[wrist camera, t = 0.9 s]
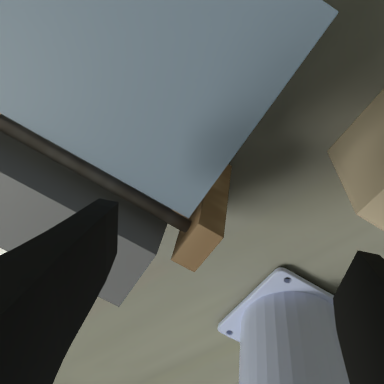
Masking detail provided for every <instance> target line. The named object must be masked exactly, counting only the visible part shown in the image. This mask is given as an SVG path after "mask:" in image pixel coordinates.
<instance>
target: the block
mask: <svg viewBox="0 0 384 384" xmlns="http://www.w3.org/2000/svg"><path fill="white" fill-rule="evenodd" d="M327 152H328V154H329V157H330V159H331V161H332V163H333V165H334V167H335V170H336V172H337V174H338V176H339V178H340V180H341V182H342V185H343V187H344V189H345V191H346V193H347V195H348V198H349V200H350V202H351V204H352V206H353V208H354V211H355V213H356V214H357V215H358V216H360V217H362V218H363V219H365V220H367V221H368V222H370V223H371V224H373V225H375V226H376V227H378V228H380V229H381V230H383V231H384V89H383V90H382V91H381V92H380V93H379V94H378V95H377V97H376V98H375V99H374V100H373V101H372V102H371V103H370V104H369V105H368V107H367V108H366V109H365V110H364V111H363V112H362V113H361V114H360V115H359V117H358V118H357V119H356V120H355V121H354V122H353V123H352V124H351V125H350V126H349V128H348V129H347V130H346V131H345V132H344V133H343V134H342V135H341V136H340V138H339V139H338V140H337V141H336V142H335V143H334V144H333V145H332V146H331V148H330V149H329V150H328V151H327Z"/></svg>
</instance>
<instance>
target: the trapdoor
mask: <svg viewBox="0 0 384 384" xmlns="http://www.w3.org/2000/svg"><path fill="white" fill-rule="evenodd" d="M337 14H338V11H337V10H336V9H334V8H333V7H331V6H330V5H329V4H327V3H326V2H324V1H323V0H0V113H1V115H2V116H4V117H6V118H8V119H10V120H11V121H13V122H15V123H17V124H19V125H20V126H22V127H24V128H26V129H27V130H29V131H31V132H33V133H35V134H36V135H38V136H40V137H42V138H44V139H45V140H47V141H49V142H51V143H53V144H54V145H56V146H58V147H60V148H62V149H63V150H65V151H67V152H69V153H70V154H72V155H74V156H76V157H78V158H79V159H81V160H83V161H85V162H87V163H88V164H90V165H92V166H94V167H96V168H97V169H99V170H101V171H103V172H105V173H106V174H108V175H110V176H112V177H113V178H115V179H117V180H119V181H121V182H122V183H124V184H126V185H128V186H130V187H131V188H133V189H135V190H137V191H139V192H140V193H142V194H144V195H146V196H147V197H149V198H151V199H153V200H155V201H156V202H158V203H160V204H162V205H164V206H165V207H167V208H169V209H171V210H172V209H173V210H174V211H176V212H178V213H180V214H182V215H183V216H185V217H187V218H189V217H190V216H191V214H192V213H193V212H194V210H195V209H196V208H197V206H198V205H199V203H200V202H201V201H202V199H203V198H204V197H205V195H206V194H207V192H208V191H209V190H210V188H211V187H212V186H213V184H214V183H215V181H216V180H217V179H218V177H219V176H220V175H221V173H222V172H223V170H224V169H225V168H226V166H227V165H228V164H229V162H230V161H231V160H232V158H233V157H234V155H235V154H236V153H237V151H238V150H239V149H240V147H241V146H242V144H243V143H244V142H245V140H246V139H247V138H248V136H249V135H250V133H251V132H252V131H253V129H254V128H255V127H256V125H257V124H258V122H259V121H260V120H261V118H262V117H263V116H264V114H265V113H266V111H267V110H268V109H269V107H270V106H271V105H272V103H273V102H274V100H275V99H276V98H277V96H278V95H279V94H280V92H281V91H282V89H283V88H284V87H285V85H286V84H287V83H288V81H289V80H290V78H291V77H292V76H293V74H294V73H295V72H296V70H297V69H298V67H299V66H300V65H301V63H302V62H303V61H304V59H305V58H306V56H307V55H308V54H309V52H310V51H311V50H312V48H313V47H314V45H315V44H316V43H317V41H318V40H319V39H320V37H321V36H322V34H323V33H324V32H325V30H326V29H327V28H328V26H329V25H330V23H331V22H332V21H333V19H334V18H335V17H336V15H337ZM99 198H101V199H105V200H110V201H115V202H119V207H118V245H117V255H116V257H115V260H114V263H113V265H112V268H111V270H110V273H109V275H108V277H107V280H106V282H105V284H104V286H103V288H102V289H101V291H100V293H99V295H98V297H100V298H102V299H104V300H106V301H108V302H110V303H112V304H114V305H116V306H118V307H119V306H120V305H121V304H122V302H123V301H124V299H125V298H126V297H127V295H128V294H129V292H130V291H131V290H132V288H133V287H134V285H135V284H136V283H137V281H138V280H139V278H140V277H141V276H142V274H143V273H144V271H145V270H146V269H147V267H148V266H149V264H150V263H151V261H152V260H153V259H154V257H155V256H156V254H157V251H158V248H159V246H160V243H161V240H162V237H163V235H164V232H165V229H166V226H167V223H166V222H164V221H163V220H161V219H159V218H157V217H155V216H153V215H152V214H150V213H148V212H146V211H144V210H143V209H141V208H139V207H137V206H135V205H134V204H132V203H130V202H128V201H126V200H124V199H123V198H121V197H119V196H117V195H115V194H114V193H112V192H110V191H108V190H106V189H104V188H103V187H101V186H99V185H97V184H95V183H94V182H92V181H90V180H88V179H86V178H84V177H83V176H81V175H79V174H77V173H75V172H74V171H72V170H70V169H68V168H66V167H65V166H63V165H61V164H59V163H57V162H55V161H54V160H52V159H50V158H48V157H46V156H45V155H43V154H41V153H39V152H37V151H35V150H34V149H32V148H30V147H28V146H26V145H25V144H23V143H21V142H19V141H17V140H16V139H14V138H12V137H10V136H8V135H6V134H5V133H3V132H1V131H0V248H2V249H4V250H6V251H10V250H12V249H14V248H16V247H18V246H20V245H21V244H23V243H25V242H27V241H29V240H31V239H32V238H34V237H36V236H38V235H40V234H42V233H43V232H45V231H47V230H49V229H50V228H52V227H54V226H55V225H57V224H59V223H60V222H62V221H64V220H65V219H67V218H68V217H70V216H72V215H73V214H75V213H76V212H78V211H80V210H81V209H83V208H84V207H86V206H88V205H89V204H91V203H92V202H94V201H96V200H97V199H99Z"/></svg>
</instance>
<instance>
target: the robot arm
mask: <svg viewBox="0 0 384 384" xmlns="http://www.w3.org/2000/svg"><path fill="white" fill-rule="evenodd" d="M118 207H119V202H115V201H110V200H105V199H101V198H99V199H97V200H96V201H94V202H92V203H91V204H89V205H88V206H86V207H84V208H83V209H81V210H80V211H78V212H76V213H75V214H73V215H72V216H70V217H68V218H67V219H65V220H64V221H62V222H60V223H59V224H57V225H55V226H54V227H52V228H50V229H49V230H47V231H45V232H43V233H42V234H40V235H38V236H36V237H34V238H32V239H31V240H29V241H27V242H25V243H23V244H21V245H20V246H18V247H16V248H14V249H12V250H10V251H8V252H6V253H4V254H2V255H0V384H53V382H54V379H55V377H56V375H57V373H58V370H59V368H60V366H61V363H62V361H63V359H64V357H65V355H66V353H67V351H68V349H69V347H70V345H71V343H72V342H73V340H74V338H75V336H76V335H77V333H78V331H79V329H80V327H81V326H82V324H83V322H84V320H85V318H86V317H87V315H88V313H89V311H90V309H91V308H92V306H93V304H94V302H95V300H96V299H97V297H98V295H99V293H100V291H101V289H102V288H103V286H104V284H105V282H106V280H107V277H108V275H109V273H110V270H111V268H112V265H113V263H114V260H115V257H116V255H117V245H118ZM286 277H289V279H286ZM218 331H219V332H221V333H222V334H224V335H226V336H228V337H230V338H232V339H234V340H236V341H238V342H240V363H239V384H384V259H383V258H382V257H381V256H380V255H377V254H372V253H367V252H362V251H357V253H356V255H355V257H354V259H353V261H352V263H351V265H350V266H349V268H348V270H347V272H346V274H345V276H344V278H343V280H342V282H341V284H340V286H339V288H338V289H337V291H336V293H335V295H332V294H330V293H329V292H327V291H325V290H323V289H321V288H320V287H318V286H316V285H314V284H312V283H311V282H309V281H307V280H305V279H304V278H302V277H300V276H298V275H296V274H295V273H293V272H291V271H289V270H288V269H286V268H282V267H280V268H277V269H275V270H274V271H273V272H272V273H271V274H270V275H269V276H268V277H267V278H266V279H265V280H264V281H262V282H261V283H260V284H259V285H258V286H257V287H256V288H255V289H254V290H253V291H252V292H251V293H250V294H249V295H248V296H247V297H246V298H245V299H244V300H243V301H242V302H241V303H240V304H238V305H237V306H236V307H235V308H234V309H233V310H232V311H231V312H230V313H229V314H228V315H227V316H226V317H225V318H224V319H223V320H222V321H221V322H220V323H219V324H218Z"/></svg>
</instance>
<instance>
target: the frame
mask: <svg viewBox="0 0 384 384" xmlns="http://www.w3.org/2000/svg"><path fill="white" fill-rule="evenodd" d="M0 131H1V132H3V133H5V134H6V135H8V136H10V137H12V138H14V139H16V140H17V141H19V142H21V143H23V144H25V145H26V146H28V147H30V148H32V149H34V150H35V151H37V152H39V153H41V154H43V155H45V156H46V157H48V158H50V159H52V160H54V161H55V162H57V163H59V164H61V165H63V166H65V167H66V168H68V169H70V170H72V171H74V172H75V173H77V174H79V175H81V176H83V177H84V178H86V179H88V180H90V181H92V182H94V183H95V184H97V185H99V186H101V187H103V188H104V189H106V190H108V191H110V192H112V193H114V194H115V195H117V196H119V197H121V198H123V199H124V200H126V201H128V202H130V203H132V204H134V205H135V206H137V207H139V208H141V209H143V210H144V211H146V212H148V213H150V214H152V215H153V216H155V217H157V218H159V219H161V220H163V221H164V222H166V223H168V224H170V225H172V226H173V227H175V228H177V229H179V230H180V231H179V234H178V238H177V241H176V245H175V248H174V251H173V255H172V258H171V260H172V261H174V262H176V263H178V264H180V265H182V266H184V267H185V268H187V269H189V270H191V271H193V272H195V271H196V270H197V269H198V267H199V266H200V265H201V264H202V263H203V262H204V260H205V259H206V258H207V257H208V256H209V254H210V253H211V252H212V251H213V250H214V249H215V247H216V246H217V245H218V244H219V243H220V241H221V240H222V239H223V238H224V229H225V220H226V212H227V203H228V194H229V185H230V176H231V168H232V166H231V165H229V164H228V165H227V166H226V168H225V169H224V170H223V172H222V173H221V175H220V176H219V177H218V179H217V180H216V181H215V183H214V184H213V186H212V187H211V188H210V190H209V191H208V192H207V194H206V195H205V197H204V198H203V199H202V201H201V202H200V203H199V205H198V206H197V208H196V209H195V210H194V212H193V213H192V214H191V216H190V217H189V218H187V217H185V216H183V215H182V214H180V213H178V212H176V211H174V210H173V209H172V210H171V209H169V208H167V207H165V206H164V205H162V204H160V203H158V202H156V201H155V200H153V199H151V198H149V197H147V196H146V195H144V194H142V193H140V192H139V191H137V190H135V189H133V188H131V187H130V186H128V185H126V184H124V183H122V182H121V181H119V180H117V179H115V178H113V177H112V176H110V175H108V174H106V173H105V172H103V171H101V170H99V169H97V168H96V167H94V166H92V165H90V164H88V163H87V162H85V161H83V160H81V159H79V158H78V157H76V156H74V155H72V154H70V153H69V152H67V151H65V150H63V149H62V148H60V147H58V146H56V145H54V144H53V143H51V142H49V141H47V140H45V139H44V138H42V137H40V136H38V135H36V134H35V133H33V132H31V131H29V130H27V129H26V128H24V127H22V126H20V125H19V124H17V123H15V122H13V121H11V120H10V119H8V118H6V117H4V116H2V115H1V113H0Z"/></svg>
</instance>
